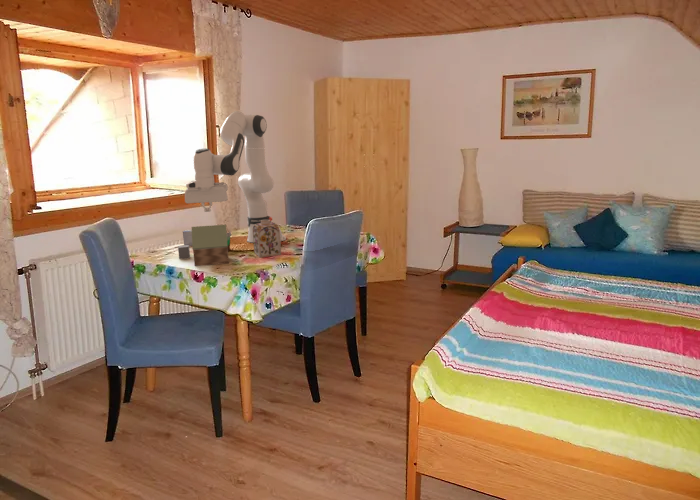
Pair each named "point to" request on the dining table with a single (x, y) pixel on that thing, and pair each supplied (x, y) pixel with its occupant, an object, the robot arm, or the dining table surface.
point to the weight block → (184, 252)
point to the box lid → (209, 237)
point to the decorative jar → (266, 239)
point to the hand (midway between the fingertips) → (207, 211)
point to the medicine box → (187, 237)
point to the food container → (228, 240)
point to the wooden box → (210, 256)
